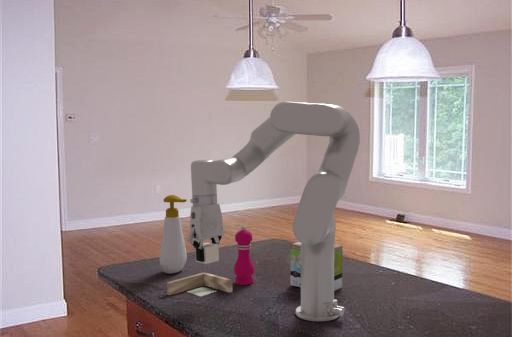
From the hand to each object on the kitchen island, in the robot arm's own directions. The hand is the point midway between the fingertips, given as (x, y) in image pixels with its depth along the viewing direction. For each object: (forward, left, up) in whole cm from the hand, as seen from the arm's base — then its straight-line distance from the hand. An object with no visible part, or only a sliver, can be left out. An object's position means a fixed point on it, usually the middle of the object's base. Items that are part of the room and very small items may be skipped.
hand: (207, 258), depth 165 cm
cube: (0, 0, -1) cm, 1 cm away
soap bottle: (+36, -16, -14) cm, 41 cm away
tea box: (-15, -35, -14) cm, 41 cm away
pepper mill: (+7, -23, -14) cm, 28 cm away
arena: (+9, -5, -14) cm, 17 cm away
